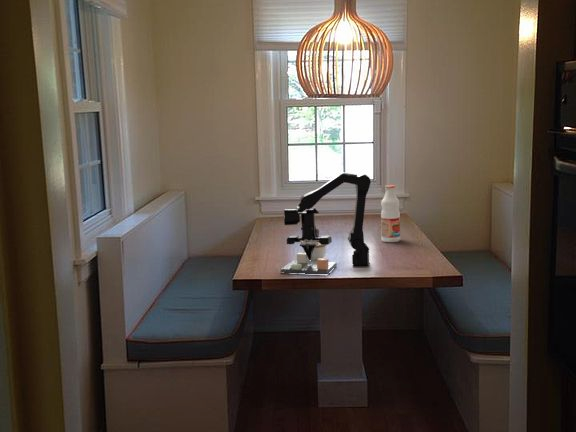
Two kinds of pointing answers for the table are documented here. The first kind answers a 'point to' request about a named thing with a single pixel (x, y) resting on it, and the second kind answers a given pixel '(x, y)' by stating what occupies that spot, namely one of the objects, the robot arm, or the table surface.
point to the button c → (296, 266)
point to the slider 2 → (322, 263)
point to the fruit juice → (390, 216)
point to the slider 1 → (302, 258)
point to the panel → (308, 268)
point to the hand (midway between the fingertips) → (310, 259)
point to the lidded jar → (318, 252)
